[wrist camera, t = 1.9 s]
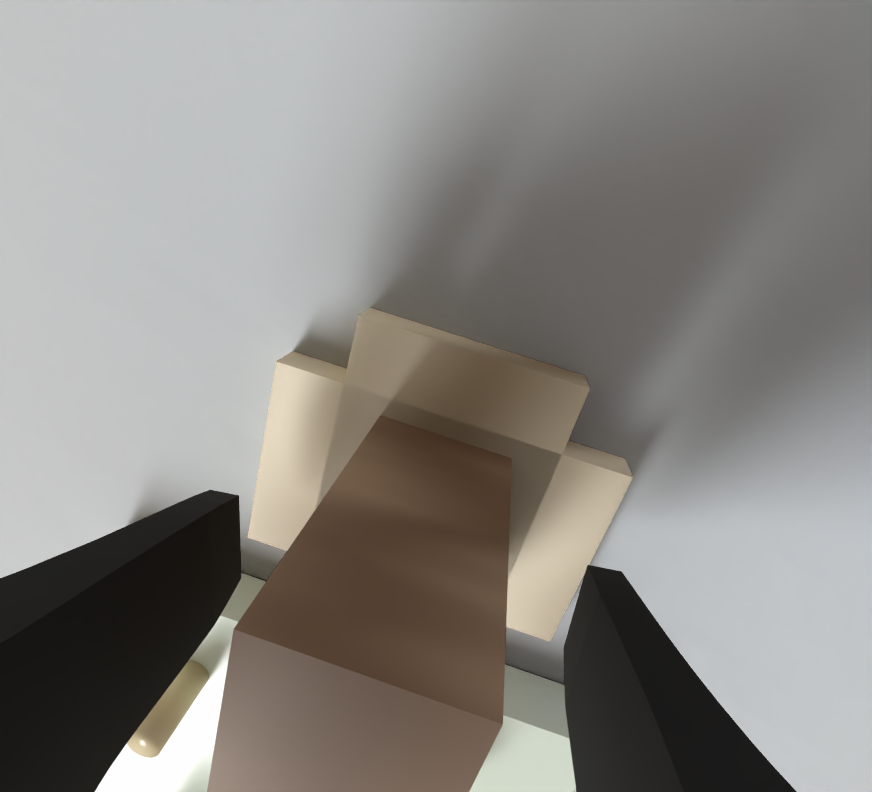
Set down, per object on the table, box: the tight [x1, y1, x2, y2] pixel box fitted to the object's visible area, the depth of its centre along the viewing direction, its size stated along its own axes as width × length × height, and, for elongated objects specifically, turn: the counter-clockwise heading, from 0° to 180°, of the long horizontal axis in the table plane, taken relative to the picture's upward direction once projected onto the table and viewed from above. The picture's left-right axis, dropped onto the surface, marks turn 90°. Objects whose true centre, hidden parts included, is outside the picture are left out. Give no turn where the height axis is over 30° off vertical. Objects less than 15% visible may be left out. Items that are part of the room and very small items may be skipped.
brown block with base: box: [207, 308, 633, 792], centre depth 9 cm, size 8×8×7 cm
